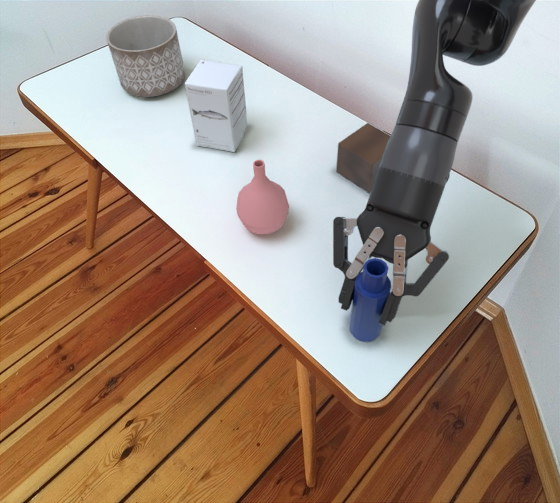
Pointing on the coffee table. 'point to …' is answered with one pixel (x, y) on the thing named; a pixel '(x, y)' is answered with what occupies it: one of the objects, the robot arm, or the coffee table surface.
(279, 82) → the coffee table surface
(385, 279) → the bottle
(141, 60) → the planter
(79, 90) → the coffee table surface
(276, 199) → the pink bud vase
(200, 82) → the white packaging box
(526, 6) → the robot arm
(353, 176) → the block
